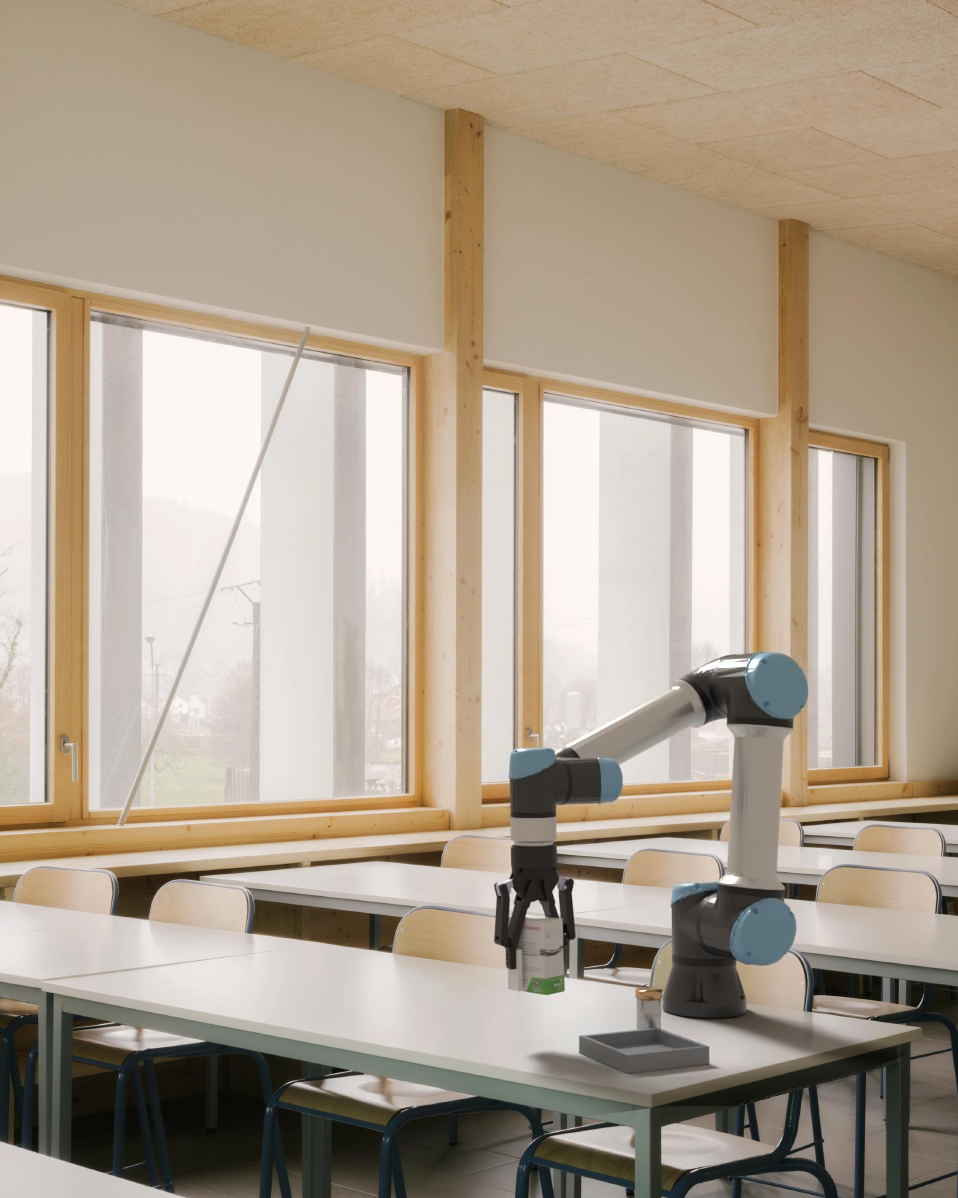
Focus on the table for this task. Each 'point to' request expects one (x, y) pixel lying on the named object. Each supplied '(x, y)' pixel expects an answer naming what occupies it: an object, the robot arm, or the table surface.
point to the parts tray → (643, 1050)
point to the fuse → (648, 1007)
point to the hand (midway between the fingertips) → (536, 987)
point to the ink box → (541, 955)
